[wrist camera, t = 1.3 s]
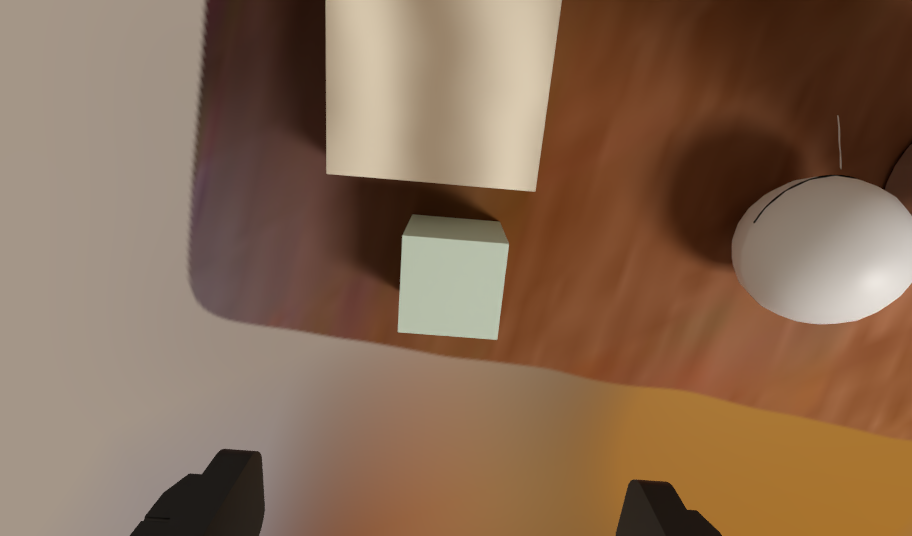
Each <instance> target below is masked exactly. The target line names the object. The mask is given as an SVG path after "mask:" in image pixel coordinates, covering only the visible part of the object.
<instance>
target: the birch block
mask: <svg viewBox="0 0 912 536" xmlns="http://www.w3.org/2000/svg"><path fill="white" fill-rule="evenodd" d="M561 2H562V0H326V170H327V174H335V175H347V176H358V177H370V178H382V179H394V180H405V181H417V182H429V183H440V184H452V185H464V186H476V187H487V188H499V189H511V190H523V191H534V192H535V190H536V183H537V176H538V169H539V161H540V154H541V147H542V140H543V132H544V125H545V118H546V111H547V104H548V96H549V89H550V82H551V75H552V67H553V60H554V53H555V46H556V38H557V31H558V24H559V17H560V9H561Z"/></svg>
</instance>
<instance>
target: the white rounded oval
mask: <svg viewBox="0 0 912 536" xmlns="http://www.w3.org/2000/svg"><path fill="white" fill-rule="evenodd" d="M837 119H838V139H839V151H840V169H841V170H842V159H841V146H840V123H839V116H838V115H837ZM732 263H733V267H734V270H735V272H736V275H737V278H738V281H739V283H740V284H741V285H742V286H743V287H744V288H745V290H746V291H747V292H748V293H749V294H750V295H751V296H752V297H753V298H754V299H755V300H756V301H757V302H758V303H759V304H760V305H761V306H762V307H764V308H766V309H768V310H770V311H772V312H774V313H776V314H778V315H780V316H783V317H786V318H789V319H792V320H794V321H798V322H805V323H812V324H837V323H843V322H850V321H857V320H859V319H862V318H864V317H867V316H869V315H871V314H874V313H876V312H878V311H880V310H881V309H883V308H884V307H886V306H887V305H889V304H890V303H891V302H893V301H894V300H896V299H897V298H898V297H900V296H901V295H902V294H903V292H904V291H905V290H906V289H907V288H908V287H909V285H910V284H911V283H912V216H911V214H910V213H909V211H908V210H907V209H906V208H905V207H904V205H903V204H902V203H901V202H900V201H899V200H898V199H897V197H895V196H894V195H892V194H890V193H888V192H887V191H885V190H883V189H882V188H880V187H878V186H876V185H873V184H870V183H867V182H865V181H862V180H860V179H857V178H854V177H850V176H844V175H826V176H819V177H811V178H805V179H799V180H794V181H791V182H789V183H787V184H785V185H783V186H781V187H779V188H777V189H774V190H772V191H771V192H769V193H767V194H765V195H764V196H762V197H761V198H760V199H759V200H758V201H757V202H755V203H754V204H753V205H752V206H751V207H749V208H748V210H747V211H746V213H745V214H744V215H743V217H742V218H741V220H740V221H739V222H738V224H737V227H736V230H735V233H734V236H733V239H732Z"/></svg>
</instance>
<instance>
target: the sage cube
mask: <svg viewBox="0 0 912 536" xmlns="http://www.w3.org/2000/svg"><path fill="white" fill-rule="evenodd" d="M508 248H509V243H508V241H507V238H506V236H505V233H504V231H503V228H502V226H501V224H500V222H499V221H487V220H475V219H462V218H450V217H438V216H426V215H414V214H412V216H411V218H410V220H409V223H408V225H407V227H406V229H405V231H404V233H403V235H402V254H401V275H400V297H399V318H398V332H402V333H415V334H428V335H442V336H455V337H468V338H481V339H494V340H497V337H498V329H499V321H500V313H501V304H502V296H503V288H504V280H505V272H506V264H507V256H508Z"/></svg>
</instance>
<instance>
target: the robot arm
mask: <svg viewBox="0 0 912 536" xmlns="http://www.w3.org/2000/svg"><path fill="white" fill-rule="evenodd" d="M885 191H887V192H888V193H890V194H892V195H894V196H895V197H897V199H898V200H899V201H900V202H901V203H902V204H903V205H904V207H905V208H906V209H907V210H908V211H909V213H910V214H911V216H912V144H911V145H910V146H909V147H908V148H907V150H906V151H905V152H904V154H903V155H902V157H901V158H900V159H899V161H898V162H897V164H896V165H895V167H894V169H893V171H892V173H891V175H890V177H889V179H888V181H887V184H886V187H885ZM264 511H265V502H264V486H263V469H262V457H261V454H260V452H258V451H246V450H232V449H222V450H220V451H219V452H218V453H217V454H216V456H215V457H214V458H213V460H212V461H211V463H210V464H209V465H208V467H207V468H206V470H205V471H204V472H203V474H188V475H187V476H185V477H184V478H183V479H181V480H180V481H179V482H177V483H176V484H175V485H173V486H172V487H171V488H169V489H168V490H167V491H165V492H164V493H163V494H162V495H161V497H160V498H159V499H158V500H157V502H156V503H155V504H154V505H153V507H152V508H151V510H150V511H149V512H148V513H147V514H146V516H145V519H144V521H141V522H140V523H139V525H138V526H137V527H136V528H135V530H134V531H133V532H132V533H131V535H130V536H259V534H260V531H261V527H262V523H263V518H264ZM616 536H722V535H721V534H720V532H719V531H718V530H717V529H716V528H714V527H713V526H712V525H711V524H710V523H709V522H708V521H707V520H706V519H705V518H704V517H703V516H702V515H701V514H700V513H699V512H698V511H696V510H687V509H686V508H685V506H684V504H683V503H682V501H681V499H680V497H679V496H678V494H677V493H676V491H675V489H674V488H673V486H672V485H671V484H670V483H668V482H662V481H661V482H660V481H647V480H632V481H630V483H629V485H628V488H627V492H626V496H625V500H624V504H623V508H622V512H621V515H620V519H619V523H618V527H617V532H616Z"/></svg>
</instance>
